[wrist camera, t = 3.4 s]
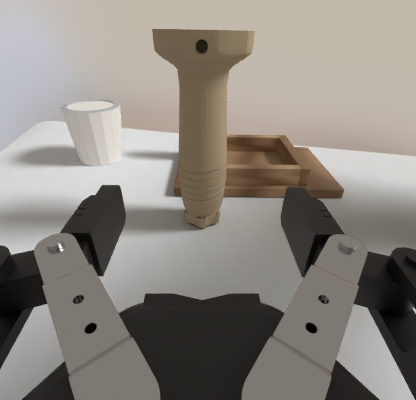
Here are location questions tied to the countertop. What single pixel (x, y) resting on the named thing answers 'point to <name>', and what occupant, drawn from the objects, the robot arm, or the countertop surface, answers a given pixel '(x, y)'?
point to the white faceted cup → (95, 131)
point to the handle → (203, 111)
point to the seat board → (272, 169)
